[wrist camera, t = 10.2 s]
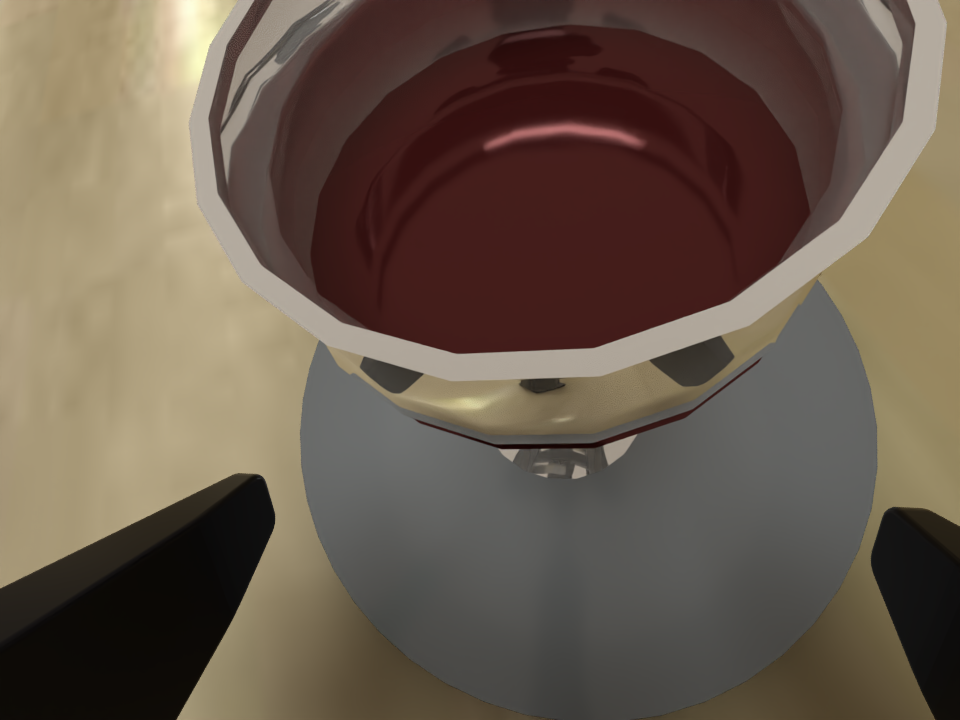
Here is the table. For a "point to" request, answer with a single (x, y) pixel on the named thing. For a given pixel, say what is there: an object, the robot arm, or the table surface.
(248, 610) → the table surface
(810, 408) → the slate plate
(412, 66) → the wineglass
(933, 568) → the robot arm
